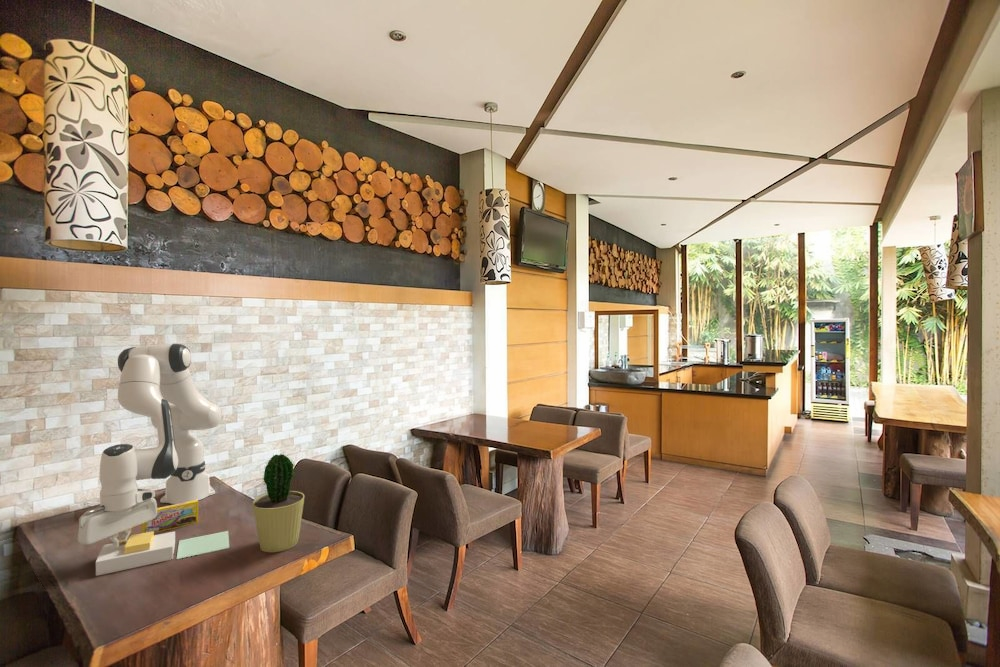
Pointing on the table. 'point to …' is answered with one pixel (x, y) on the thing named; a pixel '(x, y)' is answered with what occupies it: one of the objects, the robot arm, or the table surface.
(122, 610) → the table surface
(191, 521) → the candy box
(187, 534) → the table surface
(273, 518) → the potted cactus
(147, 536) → the block
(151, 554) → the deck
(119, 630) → the table surface
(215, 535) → the mat
